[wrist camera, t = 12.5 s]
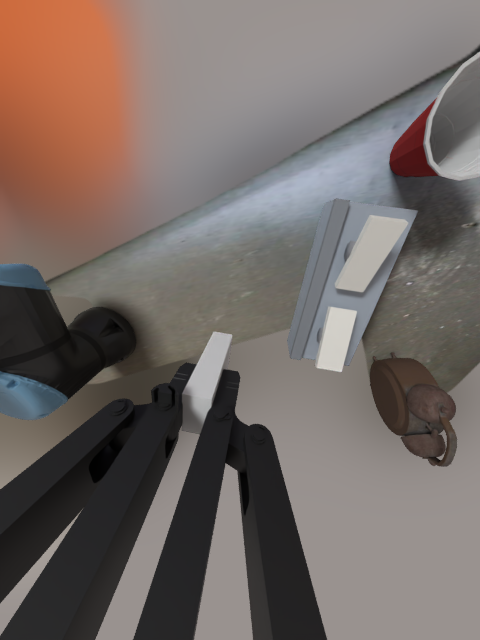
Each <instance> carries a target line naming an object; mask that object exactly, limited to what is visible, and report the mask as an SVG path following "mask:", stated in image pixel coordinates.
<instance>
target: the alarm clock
mask: <svg viewBox="0 0 480 640" xmlns="http://www.w3.org/2000/svg"><path fill="white" fill-rule="evenodd" d="M391 355H392V357H393V358H389V359H383V360H377V359H376V357H375V356H373V359H374V361H375V362H374V363H373V365H372V367H371V372H370V382H371V384H370V386H371V389H372V394H373V397H374V401H375V404H376V407H377V409H378V411H379V413H380V416H381V417H382V419H383V421H384V422H385V424H386V425H387V427H388V428H389V429H390V430H391V431H392V432H393V433H395V434H396V435H400V436H403V437H401V439H402V441H403V443H404V445H405V446H406V448H407V449H408V450H409V451H410V452H411V453H413V454H414V455H416V456H419V457H423V459H428V461H429V463H430V464H431V465H433V466H435V465H438V466H448V465H449V464H451V462H452V460H453V458H454V456H455V452H456V448H457V437H456V434H455V432H454V430H453V428H452V426H451V424H450V422H449V421H450V420H451V419H452V418H453V417H454V415H455V412H456V406H455V403H454V401H453V399H452V398H451V397H450V395H448V394H447V393H446V392H445V391H444V390H442V389H440V388H439V386H438V384H437V382H436V381H435V379H434V377H433V376H432V375H431V373H430V372H429V371H428V370H427V369H426V367H424V366H423V365H422V364H421V363H420V362H418V361H416V360H414V359H410V358H396V357H395V355H394V353H391ZM443 429H444V430H445V432H446V435H447V448H446V449H445V442H444V439H443V437H442V435H438V434H439V433H441V432H442V431H443ZM445 450H446V452H445ZM444 452H445V455H444V457H443V459H442V460H439V459H438V458H436V457H439V456H441V455H442V454H444Z"/></svg>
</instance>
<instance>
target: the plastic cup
mask: <svg viewBox="0 0 480 640" xmlns="http://www.w3.org/2000/svg"><path fill="white" fill-rule="evenodd" d="M390 166H391V169H392V171H393V172H394V173H395V174H396V175H400V176H404V177H410V176H414V177H424V176H441V177H445V178H449V179H453V180H457V181H460V180H465V179H470V178H475V177H480V52H479V53H478V54H476V55H475V56H473V57H472V58H471V59H469V60H468V61H467V62H465V63H464V64H462V66H461V67H460V68H459V69H458V70H457V72H456V73H455V74H454V75H453V77H452V78H451V79H450V80H449V82H448V83H447V84H446V85H445V86H444V88H443V89H442V90H441V91H440V93H439V94H438V96H437V98H436V99H435V100H434V101H433V102H432V103H431V104H430V105H429V106H428V108H427V109H426V110H425V111H424V112H423V113H422V114H421V115H420V116H419V117H418V118H417V119H416V120H415V121H414V122H413V123H412V124H411V126H410V127H409V128H408V129H407V130H406V132H405V133H404V134H403V135H402V136H401V137H400V138H399V139H398V141H397V142H396V143H395V145H394V147H393V149H392V152H391V154H390Z"/></svg>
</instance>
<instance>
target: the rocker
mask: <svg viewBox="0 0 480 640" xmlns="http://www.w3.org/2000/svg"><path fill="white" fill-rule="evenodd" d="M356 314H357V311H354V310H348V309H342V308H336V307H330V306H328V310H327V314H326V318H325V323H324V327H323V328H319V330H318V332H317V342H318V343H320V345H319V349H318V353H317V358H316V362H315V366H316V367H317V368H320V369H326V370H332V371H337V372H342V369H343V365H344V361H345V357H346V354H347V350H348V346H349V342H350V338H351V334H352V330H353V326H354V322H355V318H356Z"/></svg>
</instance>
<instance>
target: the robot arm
mask: <svg viewBox="0 0 480 640" xmlns="http://www.w3.org/2000/svg"><path fill="white" fill-rule="evenodd" d="M50 290H51V289H50V288H49V287H47V285H46V283H45V281H44V280H43V278H42V276H41V274H40V273H39V271H38V270H37V269H36V268H34V267H33V266H30V265H27V264H0V412H1V413H3V414H5V415H8V416H11V417H14V418H18V419H24V420H37V419H40V418H44V417H46V416H48V415H49V414H51V413H52V412H53V411H55V410H56V409H57V408H59V407H60V406H61V405H63V404H65V403H66V402H67V401H68V399H69V398H71V397H72V396H73V395H74V394H75V393H76V392H77V391H79V390H80V389H81V388H82V387H83V386H84V385H85V384H87V383H88V382H89V381H90V380H91V379H92V378H93V377H95V376H96V375H97V374H98V373H99V372H100V371H101V370H103V369H104V368H107V367H109V366H111V365H114V364H116V363H118V362H121V361H123V360H124V359H126V358H127V357H128V356H129V355H130V354H131V353H132V352H133V351H134V349H135V346H136V338H135V334H134V331H133V329H132V327H131V326H130V324H129V323H128V322H127V321H126V320H125V319H124V318H123V317H122V316H121V315H119V314H118V313H116V312H115V311H113V310H110V309H108V308H103V307H93V308H90V309H88V310H86V311H84V312H82V313H80V314H79V315H78V316H77V317H76V318H75V319H74V321H73V322H72V323H71V324H70V325H69V326H68V327H67V326H66V324H65V322H64V320H63V318H62V316H61V314H60V312H59V309H58V307H57V305H56V303H55V301H54V299H53V296H52V294H51V292H50ZM231 343H232V335H231V334H225V333H219V332H213V334H212V336H211V338H210V340H209V342H208V344H207V346H206V348H205V350H204V352H203V354H202V356H201V358H200V360H199V362H198V364H197V365H196V364H191V363H185V364H183V365H182V366H180V368H179V369H178V371H177V373H176V374H175V376H174V378H173V379H172V380H171V382H170V383H164V384H159V385H158V386H156V387H154V388H153V389H152V390H151V393H152V403H150V404H144V405H134V404H133V402H132V401H131V400H129V399H118V400H115V401H112V402H111V403H109V404H108V405H107V406H105V407H104V408H103V409H101V410H100V411H99V412H98V413H96V414H95V415H94V416H93V417H91V418H90V419H89V420H87V421H86V422H85V423H84V424H82V425H81V426H80V427H79V428H77V429H76V430H75V431H74V432H72V433H71V434H70V435H69V436H67V437H66V438H65V439H64V440H62V441H61V442H60V443H59V444H57V445H56V446H55V447H53V448H52V449H51V450H50V451H48V452H47V453H46V454H45V455H43V456H42V457H41V458H40V459H38V460H37V461H36V462H35V463H33V464H32V465H31V466H30V467H29V468H27V469H26V470H24V471H23V472H22V473H21V474H19V475H18V476H17V477H16V478H14V479H13V480H12V481H11V482H9V483H8V484H7V485H6V486H4V487H3V488H2V489H0V603H1V602H2V601H3V600H4V598H5V597H6V596H7V595H8V594H9V593H10V591H11V590H12V589H13V588H14V587H15V586H16V585H17V583H18V582H19V581H20V580H21V579H22V577H24V575H25V574H26V573H27V572H28V571H29V570H30V569H31V567H32V566H33V565H34V564H35V563H36V562H37V561H38V559H39V558H40V557H41V556H42V555H43V554H44V552H45V551H46V550H47V549H48V548H49V547H50V545H51V544H52V543H53V542H54V541H55V540H56V539H57V538H58V536H59V535H60V534H61V533H62V532H63V531H64V530H65V528H66V527H67V526H68V525H69V524H70V523H71V522H72V520H73V519H74V518H75V517H76V516H77V515H78V513H79V512H80V511H81V510H82V509H83V510H82V511H81V513H80V514H79V516H78V518H77V519H76V520H75V522H74V524H73V525H72V527H71V528H70V530H69V531H68V533H67V534H66V536H65V538H64V539H63V541H62V542H61V544H60V545H59V547H58V548H57V550H56V551H55V553H54V554H53V556H52V557H51V559H50V560H49V562H48V564H47V565H46V567H45V568H44V570H43V571H42V573H41V574H40V576H39V577H38V579H37V580H36V582H35V583H34V585H33V587H32V588H31V590H30V591H29V593H28V594H27V596H26V597H25V599H24V600H23V602H22V604H21V605H20V607H19V608H18V610H17V611H16V613H15V614H14V616H13V617H12V619H11V620H10V622H9V623H8V625H7V627H6V628H5V630H4V631H3V633H2V634H1V636H0V640H95V639H96V636H97V634H98V631H99V629H100V626H101V624H102V622H103V619H104V617H105V615H106V612H107V610H108V607H109V605H110V602H111V600H112V597H113V595H114V593H115V590H116V588H117V586H118V583H119V581H120V578H121V576H122V574H123V571H124V569H125V566H126V564H127V562H128V559H129V556H130V554H131V552H132V549H133V547H134V545H135V542H136V540H137V537H138V535H139V533H140V530H141V528H142V525H143V523H144V520H145V518H146V516H147V513H148V511H149V509H150V506H151V504H152V501H153V499H154V497H155V494H156V492H157V489H158V487H159V484H160V482H161V479H162V477H163V475H164V472H165V470H166V468H167V465H168V463H169V460H170V458H171V456H172V453H173V451H174V448H175V446H176V444H177V441H178V432H179V430H180V428H181V426H182V431H186V432H191V433H196V434H200V437H199V439H198V442H197V445H196V449H195V452H194V455H193V458H192V461H191V464H190V467H189V470H188V473H187V476H186V479H185V482H184V486H183V488H182V491H181V495H180V498H179V501H178V504H177V507H176V510H175V513H174V516H173V519H172V522H171V525H170V528H169V531H168V534H167V537H166V541H165V544H164V547H163V550H162V553H161V556H160V559H159V562H158V565H157V568H156V571H155V574H154V577H153V581H152V584H151V587H150V590H149V593H148V596H147V599H146V602H145V605H144V608H143V611H142V614H141V617H140V620H139V623H138V627H137V630H136V633H135V636H134V639H133V640H194V636H195V630H196V624H197V619H198V613H199V608H200V602H201V597H202V591H203V585H204V580H205V574H206V569H207V563H208V557H209V552H210V546H211V540H212V535H213V530H214V524H215V519H216V513H217V508H218V502H219V496H220V490H221V485H222V480H223V474H224V468H225V463H226V464H228V465H230V466H231V467H233V468H234V469H236V470H237V471H238V481H239V492H240V503H241V513H242V523H243V534H244V545H245V556H246V566H247V578H248V589H249V599H250V610H251V621H252V630H253V640H327V638H326V634H325V631H324V627H323V623H322V619H321V615H320V612H319V608H318V605H317V601H316V597H315V593H314V590H313V586H312V582H311V578H310V575H309V571H308V567H307V563H306V560H305V556H304V552H303V549H302V545H301V541H300V537H299V534H298V530H297V526H296V523H295V519H294V515H293V512H292V508H291V504H290V500H289V496H288V493H287V489H286V486H285V482H284V478H283V474H282V470H281V467H280V463H279V460H278V456H277V452H276V448H275V445H274V441H273V437H272V435H271V433H270V431H269V430H268V429H267V428H266V427H265V426H263V425H260V424H253V425H250V426H248V425H246V424H244V423H242V422H241V421H240V420H239V419H238V418H237V416H236V415H235V406H236V400H237V395H238V388H239V382H240V375H239V373H238V372H237V371H232V370H227V368H228V364H229V359H230V351H231Z"/></svg>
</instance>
